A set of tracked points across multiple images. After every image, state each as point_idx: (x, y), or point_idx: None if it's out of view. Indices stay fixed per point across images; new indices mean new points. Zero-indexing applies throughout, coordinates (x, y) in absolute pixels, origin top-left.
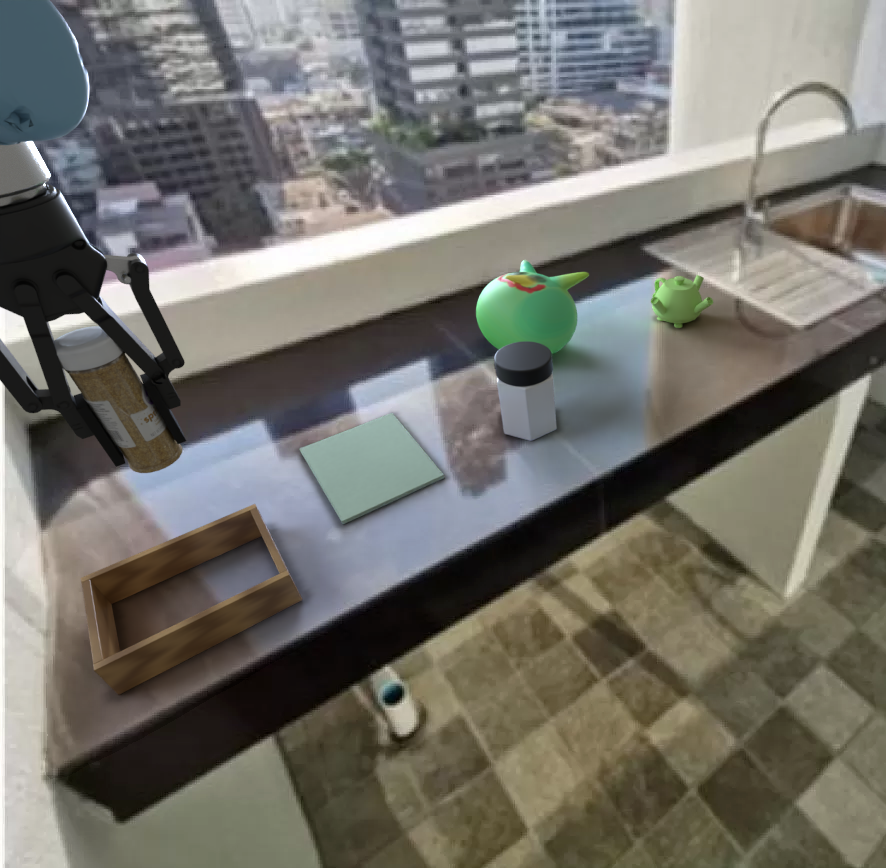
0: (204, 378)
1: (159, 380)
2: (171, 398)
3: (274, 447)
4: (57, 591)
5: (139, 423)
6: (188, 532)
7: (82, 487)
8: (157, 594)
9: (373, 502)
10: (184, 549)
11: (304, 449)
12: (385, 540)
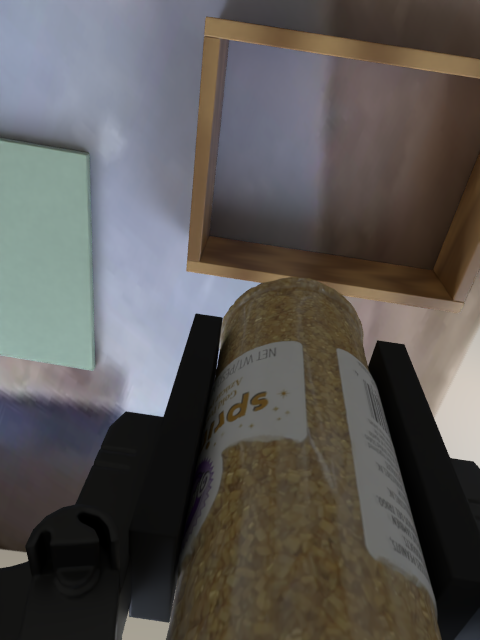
0: None
1: (78, 535)
2: (129, 449)
3: (126, 400)
4: (463, 347)
5: (290, 396)
6: None
7: None
8: (380, 238)
9: (20, 155)
10: (317, 270)
11: (86, 363)
12: (33, 43)
